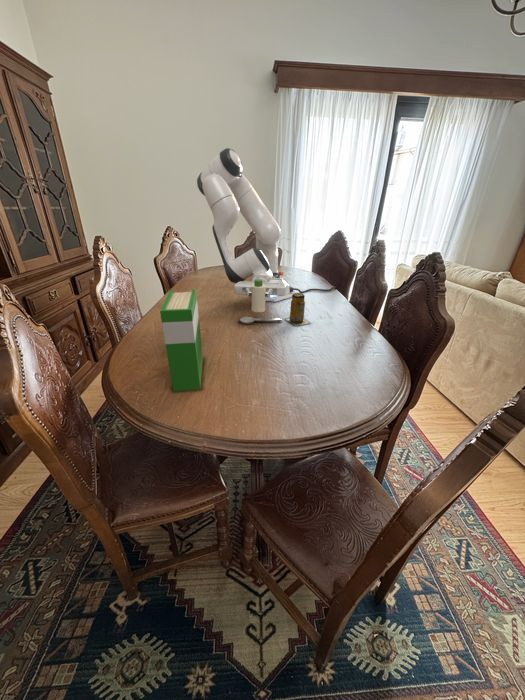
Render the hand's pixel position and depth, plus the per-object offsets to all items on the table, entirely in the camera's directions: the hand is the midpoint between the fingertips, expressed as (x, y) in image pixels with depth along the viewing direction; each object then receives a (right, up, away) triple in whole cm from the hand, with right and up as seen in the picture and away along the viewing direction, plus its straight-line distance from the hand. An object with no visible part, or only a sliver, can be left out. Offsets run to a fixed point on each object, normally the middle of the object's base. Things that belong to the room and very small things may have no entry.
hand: (258, 294), depth 106 cm
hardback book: (-21, -28, -18) cm, 39 cm away
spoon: (+1, -8, +19) cm, 21 cm away
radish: (0, -5, +4) cm, 6 cm away
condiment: (+17, -8, +20) cm, 28 cm away
